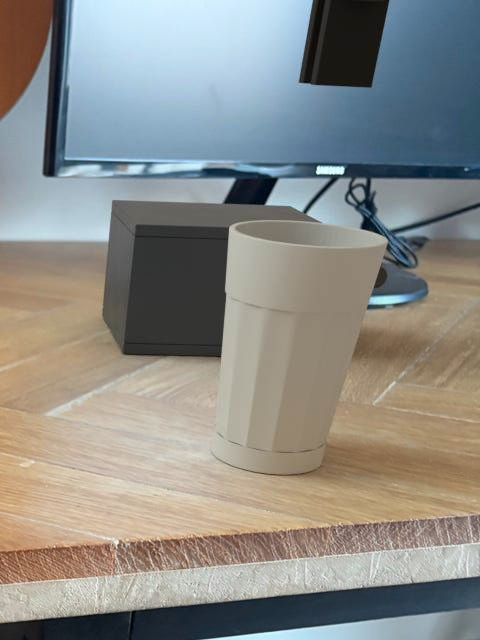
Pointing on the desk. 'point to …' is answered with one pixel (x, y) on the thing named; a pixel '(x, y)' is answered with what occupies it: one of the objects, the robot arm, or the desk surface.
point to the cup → (289, 338)
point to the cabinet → (173, 273)
